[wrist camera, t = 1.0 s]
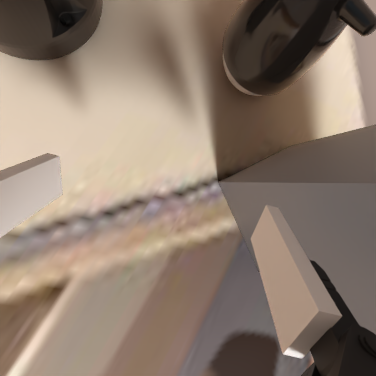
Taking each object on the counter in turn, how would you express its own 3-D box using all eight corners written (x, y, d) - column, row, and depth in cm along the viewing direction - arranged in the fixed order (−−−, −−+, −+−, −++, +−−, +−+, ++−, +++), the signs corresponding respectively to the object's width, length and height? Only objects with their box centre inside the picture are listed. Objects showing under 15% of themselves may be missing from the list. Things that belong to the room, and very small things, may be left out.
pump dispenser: (227, 117, 26) (328, 35, 12) (201, 39, 25) (275, -162, 11) (291, 97, 28) (450, 2, 13) (269, 22, 27) (415, -170, 12)
